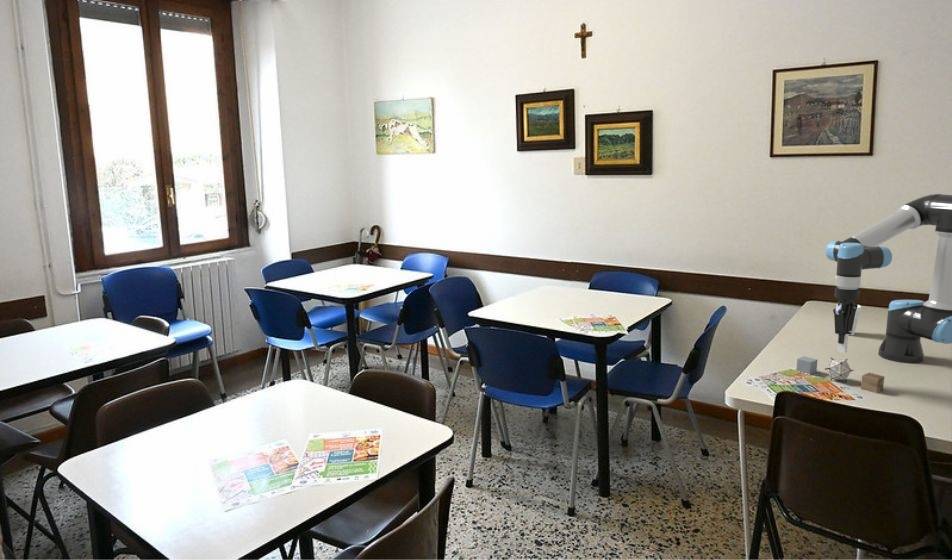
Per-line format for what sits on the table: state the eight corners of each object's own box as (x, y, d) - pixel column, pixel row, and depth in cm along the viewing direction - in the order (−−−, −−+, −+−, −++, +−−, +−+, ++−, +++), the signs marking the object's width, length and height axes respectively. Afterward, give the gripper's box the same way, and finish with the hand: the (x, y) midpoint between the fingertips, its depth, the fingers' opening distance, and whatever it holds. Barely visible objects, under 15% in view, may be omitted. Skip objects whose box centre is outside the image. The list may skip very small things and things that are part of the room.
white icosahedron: (839, 388, 238) (856, 366, 238) (844, 388, 230) (862, 365, 230) (816, 373, 241) (833, 351, 241) (820, 372, 233) (838, 350, 233)
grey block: (803, 368, 249) (804, 356, 248) (816, 372, 245) (817, 359, 244) (796, 371, 246) (797, 358, 245) (809, 375, 242) (810, 362, 241)
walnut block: (867, 386, 231) (869, 372, 230) (882, 390, 227) (884, 376, 226) (860, 389, 228) (862, 375, 227) (876, 393, 224) (877, 379, 223)
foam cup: (862, 336, 289) (865, 307, 286) (841, 336, 289) (844, 308, 287) (850, 330, 298) (853, 302, 296) (830, 330, 298) (832, 303, 296)
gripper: (845, 282, 236) (840, 345, 241) (827, 288, 229) (821, 353, 234) (867, 286, 230) (861, 350, 235) (849, 291, 223) (843, 358, 228)
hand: (841, 351), depth 234 cm, fingers closed
